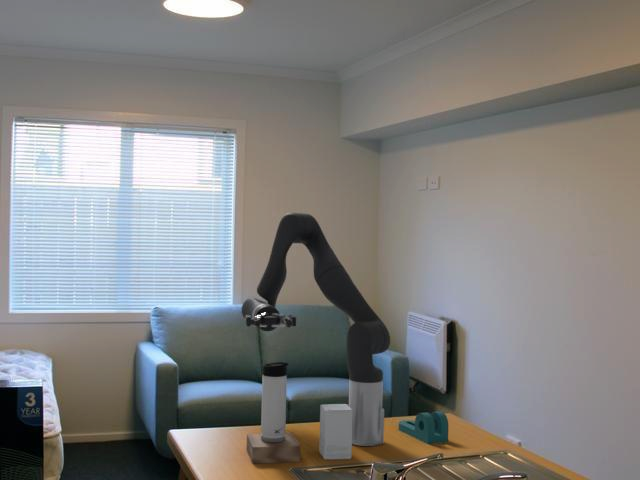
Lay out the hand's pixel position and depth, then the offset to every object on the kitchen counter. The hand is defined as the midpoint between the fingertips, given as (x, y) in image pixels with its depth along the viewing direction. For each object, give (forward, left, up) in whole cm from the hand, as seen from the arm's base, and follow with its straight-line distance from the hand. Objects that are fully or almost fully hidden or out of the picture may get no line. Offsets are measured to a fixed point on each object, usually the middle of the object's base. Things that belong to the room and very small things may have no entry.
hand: (274, 323), depth 209 cm
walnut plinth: (+2, +15, -32) cm, 35 cm away
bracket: (-43, 0, -32) cm, 54 cm away
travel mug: (+2, +15, -28) cm, 32 cm away
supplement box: (-14, +17, -32) cm, 39 cm away
